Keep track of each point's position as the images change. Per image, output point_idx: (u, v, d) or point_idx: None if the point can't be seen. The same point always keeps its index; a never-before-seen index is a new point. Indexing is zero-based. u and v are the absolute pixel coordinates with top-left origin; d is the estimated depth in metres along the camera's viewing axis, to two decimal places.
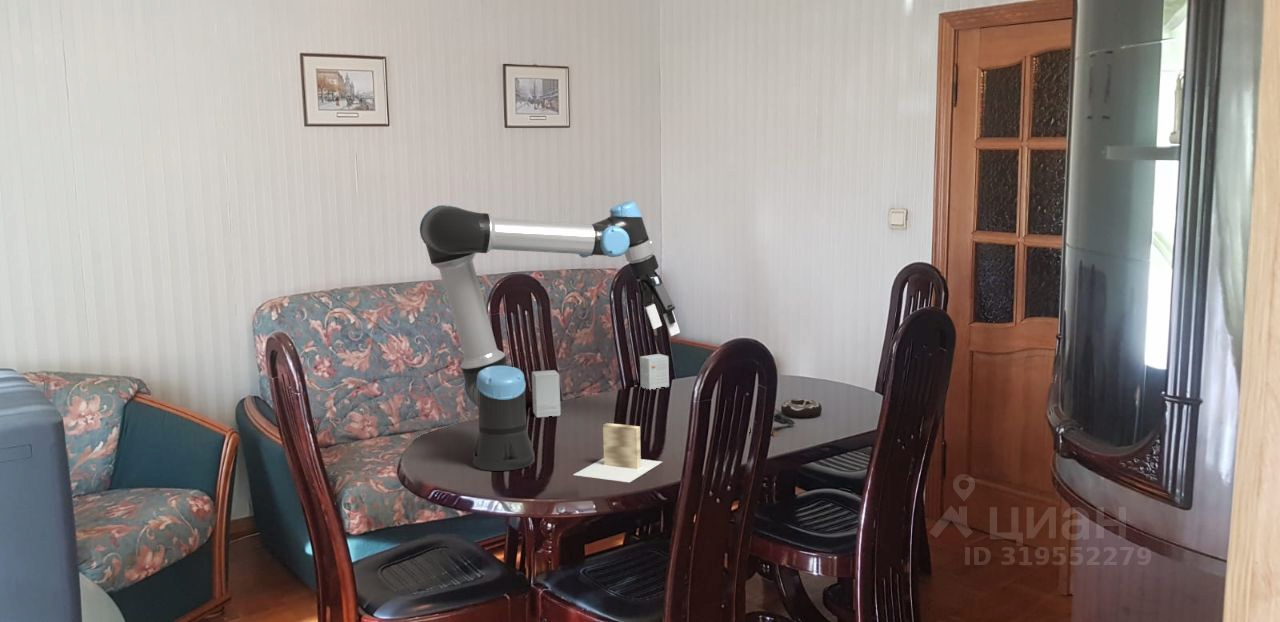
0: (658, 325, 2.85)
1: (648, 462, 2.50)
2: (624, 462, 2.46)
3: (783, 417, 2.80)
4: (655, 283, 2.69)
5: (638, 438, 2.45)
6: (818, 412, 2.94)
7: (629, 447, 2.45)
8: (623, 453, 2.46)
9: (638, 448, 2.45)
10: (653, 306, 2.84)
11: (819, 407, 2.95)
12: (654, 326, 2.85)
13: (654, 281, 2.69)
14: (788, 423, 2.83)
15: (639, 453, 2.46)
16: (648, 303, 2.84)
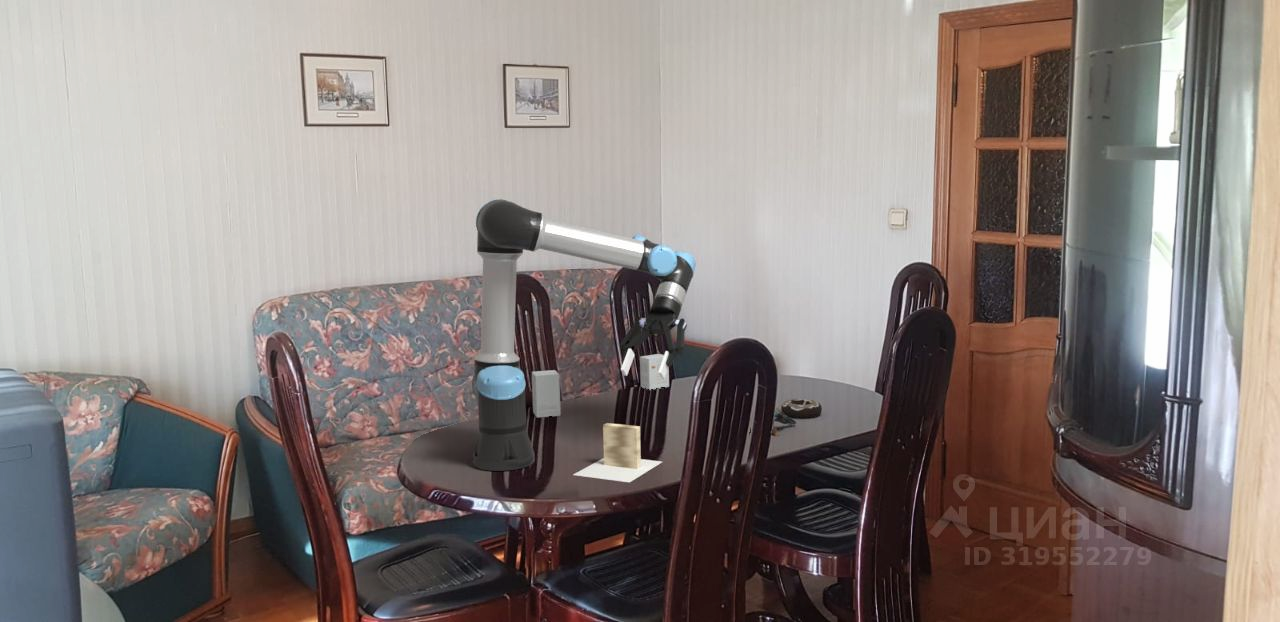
0: (626, 372, 2.58)
1: (648, 462, 2.50)
2: (624, 462, 2.46)
3: (785, 417, 2.80)
4: (683, 324, 2.60)
5: (638, 438, 2.45)
6: (818, 412, 2.94)
7: (629, 447, 2.45)
8: (623, 453, 2.46)
9: (638, 448, 2.45)
10: (633, 355, 2.61)
11: (819, 407, 2.95)
12: (624, 368, 2.57)
13: (683, 322, 2.60)
14: (789, 423, 2.83)
15: (639, 453, 2.46)
16: (631, 349, 2.62)
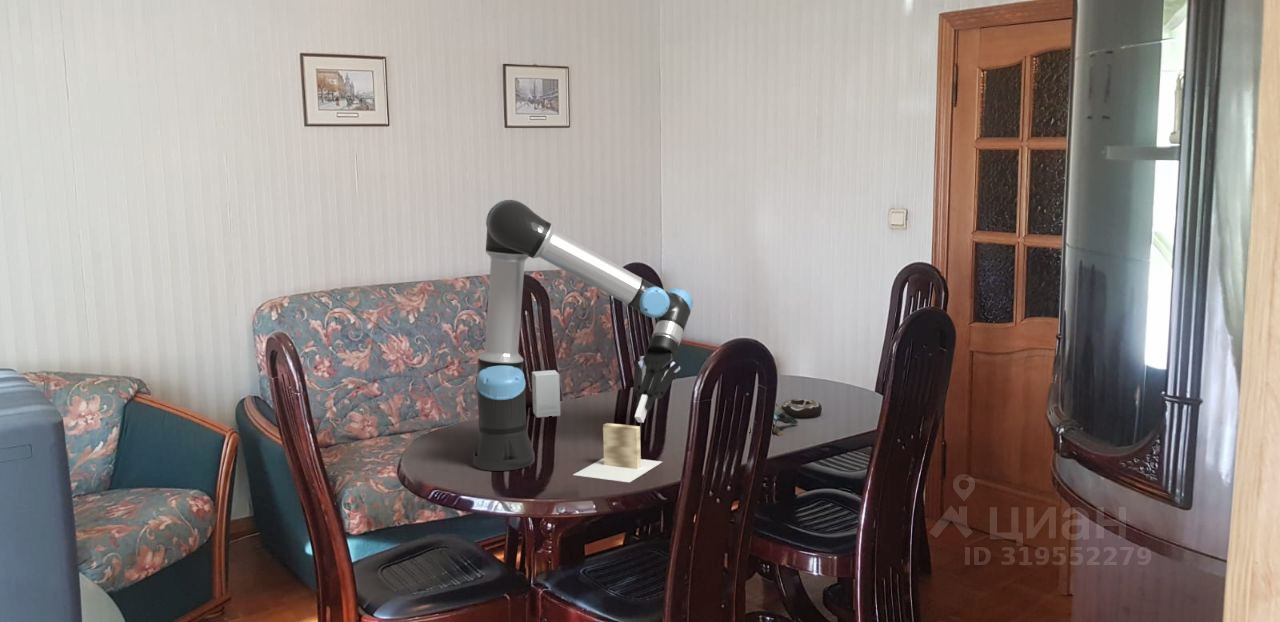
0: None
1: (648, 462, 2.50)
2: (624, 462, 2.46)
3: (787, 416, 2.81)
4: (675, 369, 2.59)
5: (638, 438, 2.45)
6: (818, 412, 2.94)
7: (629, 447, 2.45)
8: (623, 453, 2.46)
9: (638, 448, 2.45)
10: None
11: (819, 407, 2.95)
12: None
13: (676, 368, 2.59)
14: (791, 422, 2.84)
15: (639, 453, 2.46)
16: (644, 394, 2.58)
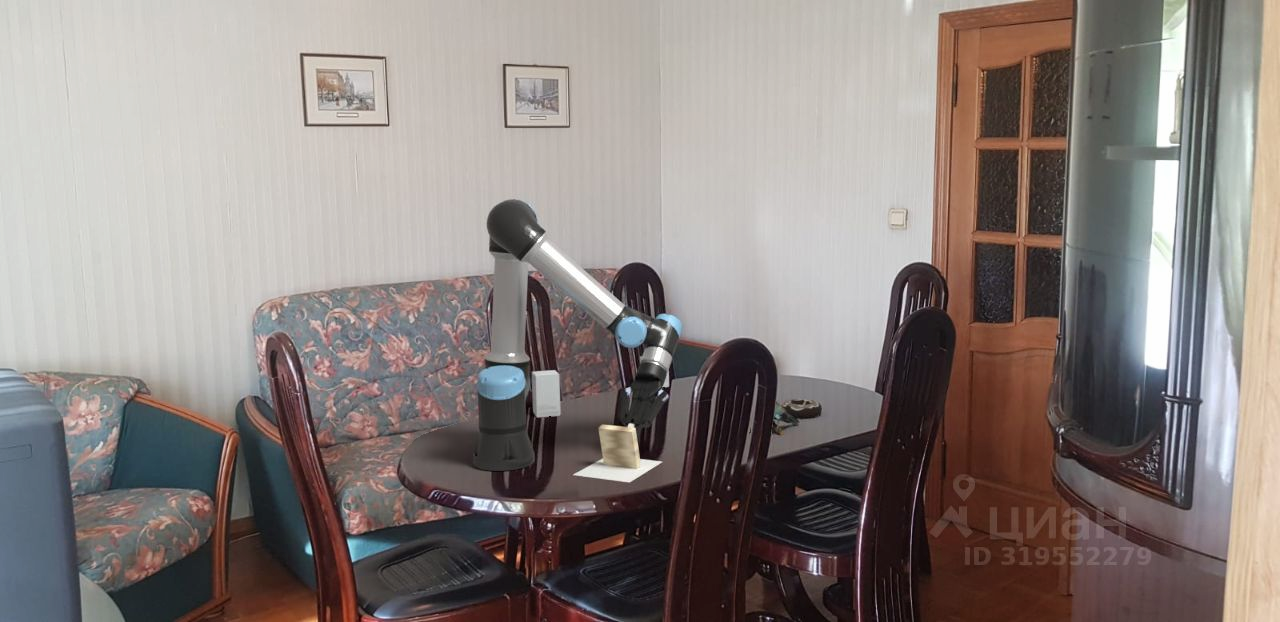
0: None
1: (648, 462, 2.50)
2: (623, 463, 2.46)
3: (789, 416, 2.81)
4: (663, 398, 2.53)
5: (635, 440, 2.43)
6: (818, 412, 2.94)
7: (627, 449, 2.44)
8: (622, 454, 2.45)
9: (636, 449, 2.44)
10: None
11: (819, 407, 2.95)
12: None
13: (664, 396, 2.53)
14: (793, 422, 2.84)
15: (637, 453, 2.45)
16: (631, 423, 2.52)
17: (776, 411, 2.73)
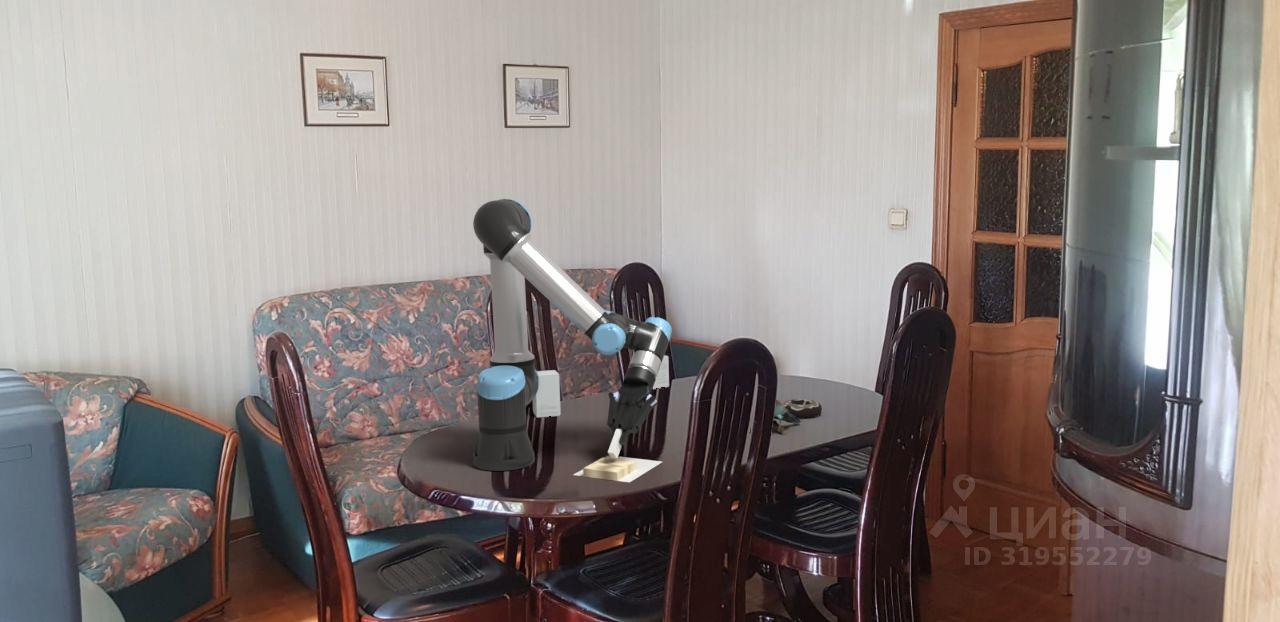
0: None
1: (648, 462, 2.50)
2: None
3: (790, 416, 2.81)
4: (651, 402, 2.48)
5: (622, 473, 2.38)
6: (818, 412, 2.94)
7: None
8: None
9: (627, 471, 2.40)
10: None
11: (819, 407, 2.95)
12: None
13: (653, 401, 2.48)
14: (794, 421, 2.84)
15: (630, 467, 2.41)
16: (618, 429, 2.47)
17: (778, 411, 2.73)
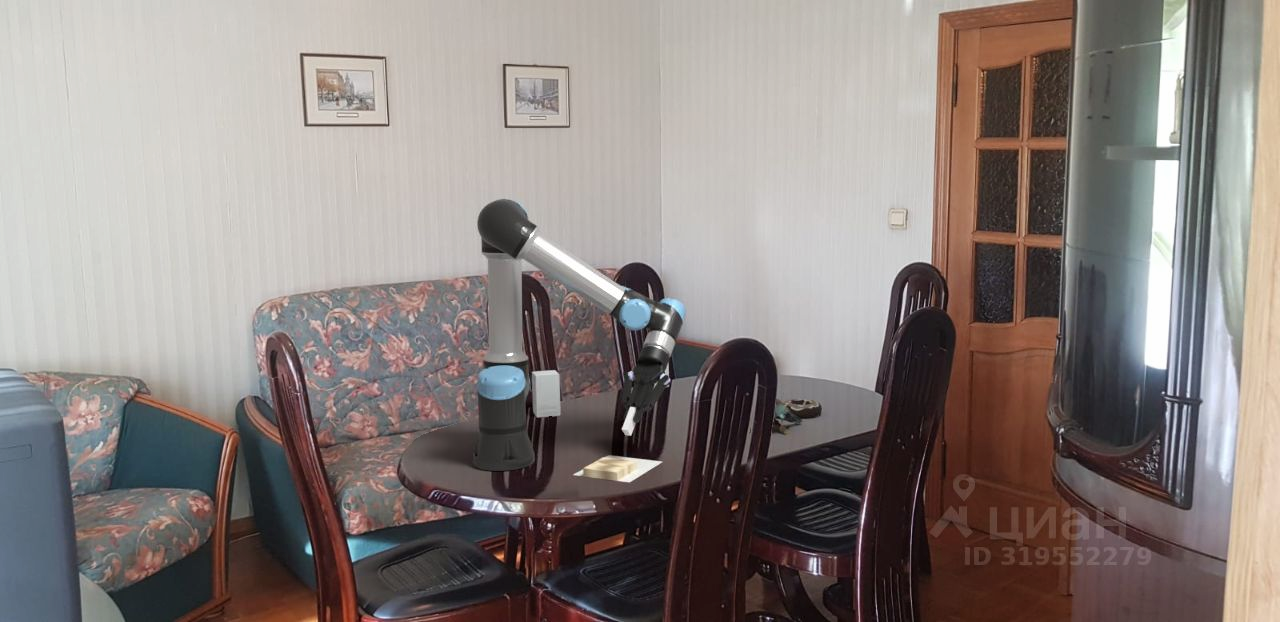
0: None
1: (648, 462, 2.50)
2: None
3: (792, 415, 2.82)
4: (664, 381, 2.53)
5: (622, 473, 2.38)
6: (818, 412, 2.94)
7: None
8: None
9: (627, 471, 2.40)
10: None
11: (819, 407, 2.95)
12: None
13: (666, 380, 2.53)
14: (796, 421, 2.85)
15: (630, 467, 2.41)
16: (632, 407, 2.52)
17: (780, 410, 2.74)
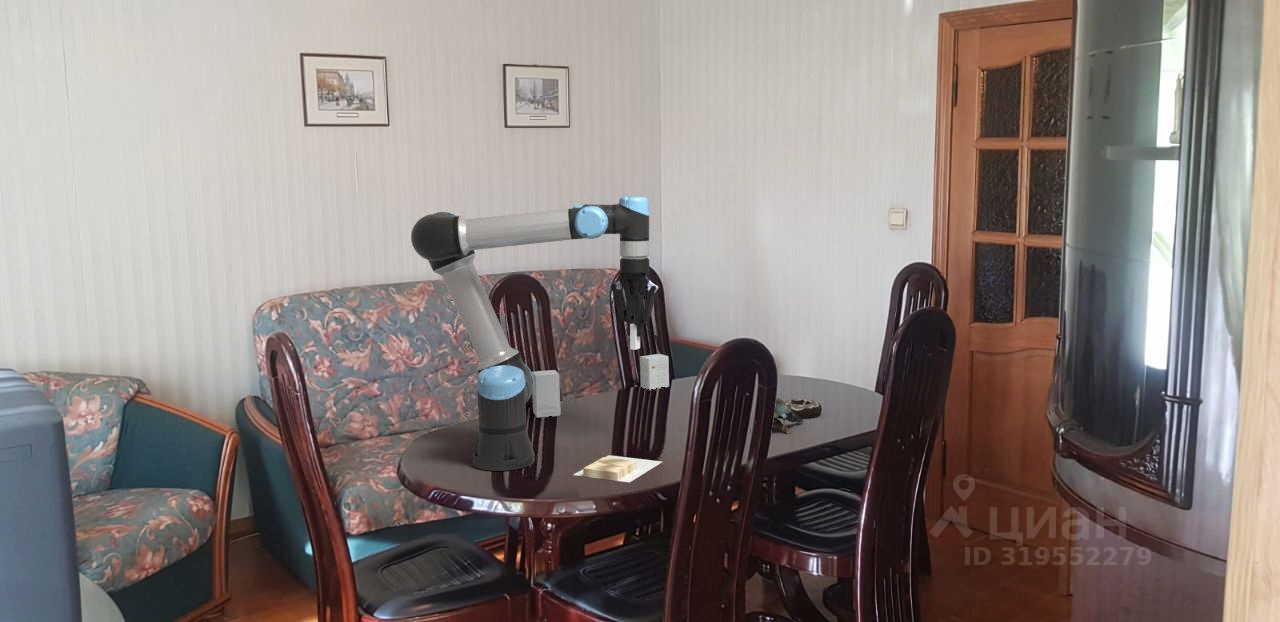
0: None
1: (648, 462, 2.50)
2: None
3: (793, 415, 2.82)
4: (653, 292, 2.59)
5: (622, 473, 2.38)
6: (818, 412, 2.94)
7: None
8: None
9: (627, 471, 2.40)
10: None
11: (819, 407, 2.95)
12: None
13: (654, 290, 2.58)
14: (797, 421, 2.85)
15: (630, 467, 2.41)
16: (632, 321, 2.63)
17: (783, 410, 2.74)
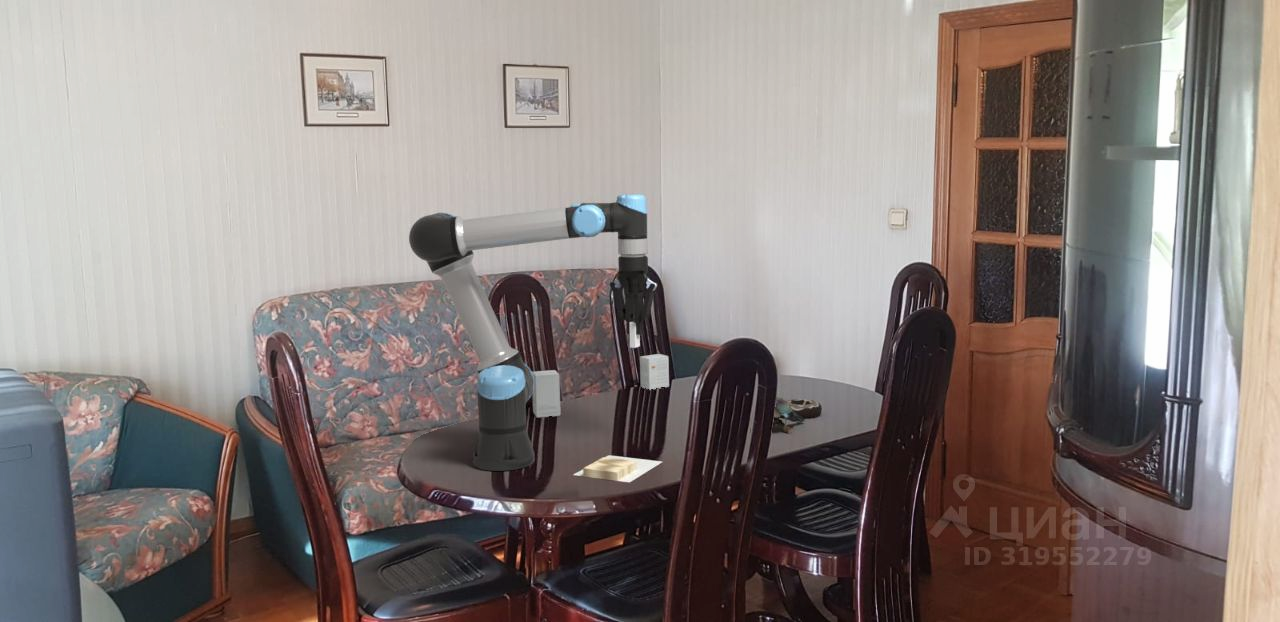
0: None
1: (648, 462, 2.50)
2: None
3: (795, 414, 2.82)
4: (652, 290, 2.58)
5: (622, 473, 2.38)
6: (818, 412, 2.94)
7: None
8: None
9: (627, 471, 2.40)
10: None
11: (819, 407, 2.95)
12: None
13: (653, 288, 2.58)
14: (798, 420, 2.85)
15: (630, 467, 2.41)
16: (631, 319, 2.63)
17: (785, 410, 2.74)
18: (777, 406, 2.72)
